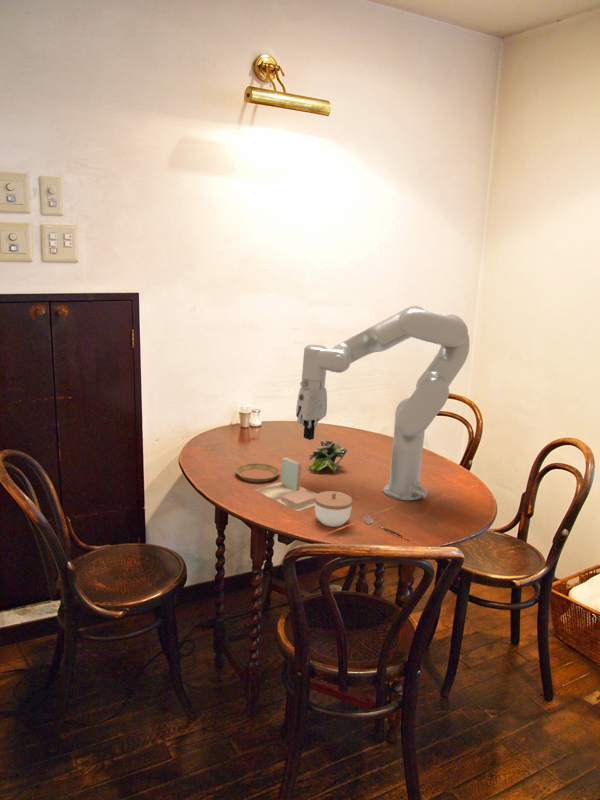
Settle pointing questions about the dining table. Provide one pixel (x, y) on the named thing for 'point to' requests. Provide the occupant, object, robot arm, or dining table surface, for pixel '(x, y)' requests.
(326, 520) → the lidded jar
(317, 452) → the passion flower
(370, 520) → the fork
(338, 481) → the dining table surface
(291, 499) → the tile
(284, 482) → the tile
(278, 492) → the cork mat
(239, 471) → the plant saucer
